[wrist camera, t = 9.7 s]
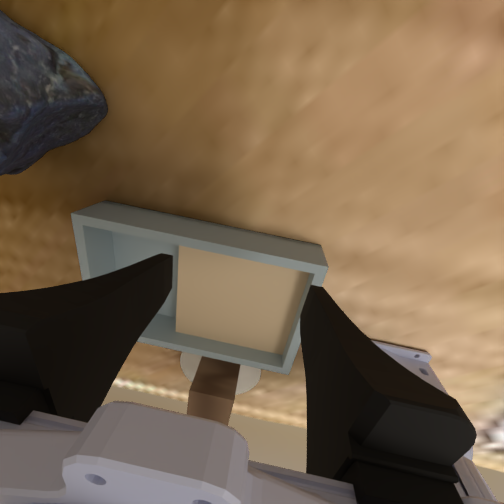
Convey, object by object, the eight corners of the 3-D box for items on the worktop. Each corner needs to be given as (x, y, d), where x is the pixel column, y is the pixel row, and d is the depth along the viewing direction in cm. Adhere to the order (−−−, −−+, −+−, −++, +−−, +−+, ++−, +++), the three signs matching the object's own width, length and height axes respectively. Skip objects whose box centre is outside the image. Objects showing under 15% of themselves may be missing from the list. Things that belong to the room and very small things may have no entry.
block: (241, 358, 28) (234, 400, 24) (235, 382, 30) (227, 425, 26) (204, 349, 28) (189, 390, 24) (200, 374, 30) (186, 416, 26)
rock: (102, 202, 22) (147, 112, 17) (-23, 217, 16) (-20, 75, 10) (14, 73, 23) (28, -53, 18) (-142, 35, 16) (-201, -192, 11)
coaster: (268, 344, 27) (268, 348, 27) (253, 397, 32) (252, 402, 31) (183, 325, 28) (181, 329, 27) (180, 381, 32) (178, 385, 32)
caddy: (320, 245, 21) (328, 267, 18) (287, 343, 27) (288, 374, 23) (105, 200, 22) (70, 213, 18) (116, 305, 28) (91, 331, 24)
